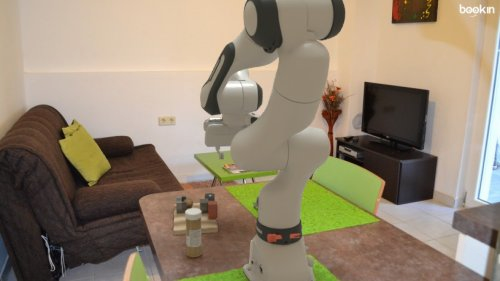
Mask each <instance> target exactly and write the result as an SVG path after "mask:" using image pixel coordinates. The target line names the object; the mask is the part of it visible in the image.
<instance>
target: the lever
mask: <svg viewBox="0 0 500 281" xmlns="http://www.w3.org/2000/svg"><path fill="white" fill-rule="evenodd" d="M215 196H216V195H215V193H213V192H207V193H205V194H204V198H199V203H200V210H201V211H208V218H209V219H211V218H216V219H218V202H217V201H218V200H215V199H216V198H215Z"/></svg>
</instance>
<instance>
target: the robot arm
mask: <svg viewBox="0 0 500 281" xmlns="http://www.w3.org/2000/svg"><path fill="white" fill-rule="evenodd" d="M242 18H243V25H244V27H243V29H242V31H241V32H240V33H239V34H238V36H237V37H236V38H234V40H231V42H228V43H227V44H225V46H224V47H223V49H222V51H221V52H220V55H219V56H218V58H217V60H216V63H215V65H214V66H213V68H212V71H211V72H210V75H209V76H208V79H207V80H206V81H205V82H204V83H203V85H202V87H201V90H200V94H199V99H200V102H199V103H200V106H201V107H200V108H202V109H203V111H205V113H207V114H208V115H210V116H217V115H218V116H220V115H221V117H215V118H214V117H209V118H208V119H206V120H204V122H203V130H204V131H205V133H204V144H205V145H204V146H206V147H207V148H210V147H211V148H215V151H216V153H217V154H218V160H224V157H225V155H224V153H223V152H221V148H222V147H230V157H231V160H232V162H233V163H234V165H235V166H236V167H237V169H239V170H243V171H246V172H247V171H249V172H255V173H256V172H257V173H260V172H275V171H278V173H277V175H276V176H275V177H274V178H273V179H271V180H270V181H268V182H266V183H265V184H263V185H262V187H261V189H260V190H259V192H258V195H259V196H258V195H257V197H258V207H257V208H258V209H257V212H258V213H257V218H256V219H255V220H256V221H255V232H256V234H255V235H254V236H253V238H252V239H251V240H250V241H249V242H250V245H249V256H248V257H249V258H248V259H249V261H248V263H246V264H244V266H243V267H242V268H243V269H242V271H243V272H244V274H245V276H246V277H247V279H248V280H249V281H316V278H315V273H314V269H313V268H314V265H315V263H314V258H313V257H310V256H307V252H310V250H309V249H310V247H309V246H307V245H305V244H306V243H305V237H304V235H303V225H302V224H303V222H302V219H301V211H302V210H301V209H302V202H303V201H302V200H303V193H304V192H305V188H306V185H307V183H308V181H309V180H310V179H311V177H312V176H313V174H314V173H315V172H316V171H317V170H318V169H319V168H321V166H323V165H324V164H326V162H327V161H328V159H329V157H330V154H331V149H332V148H331V147H332V146H331V141H330V138H329V136H328V134H327V132H325V131H324V129H323V128H319V127H314V126H311V125H312V123H313V122H314V120H315V118H316V116H317V112H318V110H319V107H320V104H321V101H322V98H323V96H324V91H325V88H326V85H327V81H328V80H327V79H328V77H329V76H328V75H329V69H330V61H331V60H330V58H331V57H330V53H329V49H327V47H326V46H325V45H324V43H322V42H321V41H326V40H330V39H332V38H334V37H336V36H337V35H339V34H340V32H341V31H342V29H343V27H344V24H345V20H346V7H345V3H344V1H343V0H246V1H245V3H244V7H243V16H242ZM277 59H278V64H277V69H276V73H275V75H274V80H273V85H272V88H271V92H270V94H269V95H270V96H269V100H268V102H267V104H266V107H265V109H264V111H263V112H262V114H261V115H259V114H257V113H254V112H257V111H258V110H259V109H260V108H261V106H262V105H263V101H264V100H263V98H264V96H263V95H264V92H263V88H262V87H261V85H260V84H259V83H258V82H257V81H253V80H252V78H251V77H250V73H249V69H253V68H260V67H263V66H268V65H270V64H272V63H273V62H275V61H276V60H277Z"/></svg>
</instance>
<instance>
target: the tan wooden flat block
mask: <svg viewBox="0 0 500 281" xmlns="http://www.w3.org/2000/svg"><path fill="white" fill-rule="evenodd" d="M185 199H187V195H176V200H175V201H176V202H175V203H176V204H174V206H173V210H174V211H173V236H179V235H182V236H183V235H186V218H185V211H186V210H188V209H191V208H197V209H200V202H196V203H195V202H193V206H192V207H191V208H187V201H184V200H185ZM183 201H184V202H183ZM201 214H202V217H201V234H209V233H211V234H212V233H219V232H218V231H219V227H218V224H217V223H218V222H217V218H211V219H209V218H208V211H201Z"/></svg>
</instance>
